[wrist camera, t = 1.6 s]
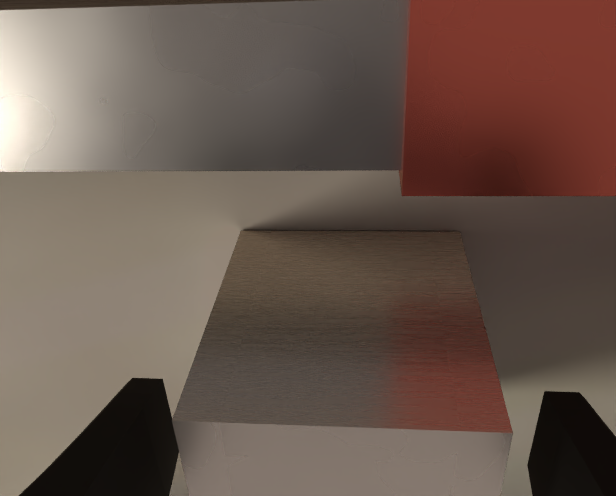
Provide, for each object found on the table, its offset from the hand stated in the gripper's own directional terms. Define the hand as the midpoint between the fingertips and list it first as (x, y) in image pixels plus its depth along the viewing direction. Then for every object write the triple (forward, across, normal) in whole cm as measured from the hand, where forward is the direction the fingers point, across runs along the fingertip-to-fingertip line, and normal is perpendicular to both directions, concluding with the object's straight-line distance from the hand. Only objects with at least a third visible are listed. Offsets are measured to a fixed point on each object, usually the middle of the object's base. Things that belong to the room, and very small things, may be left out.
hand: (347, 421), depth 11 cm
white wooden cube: (+3, 0, 0) cm, 3 cm away
